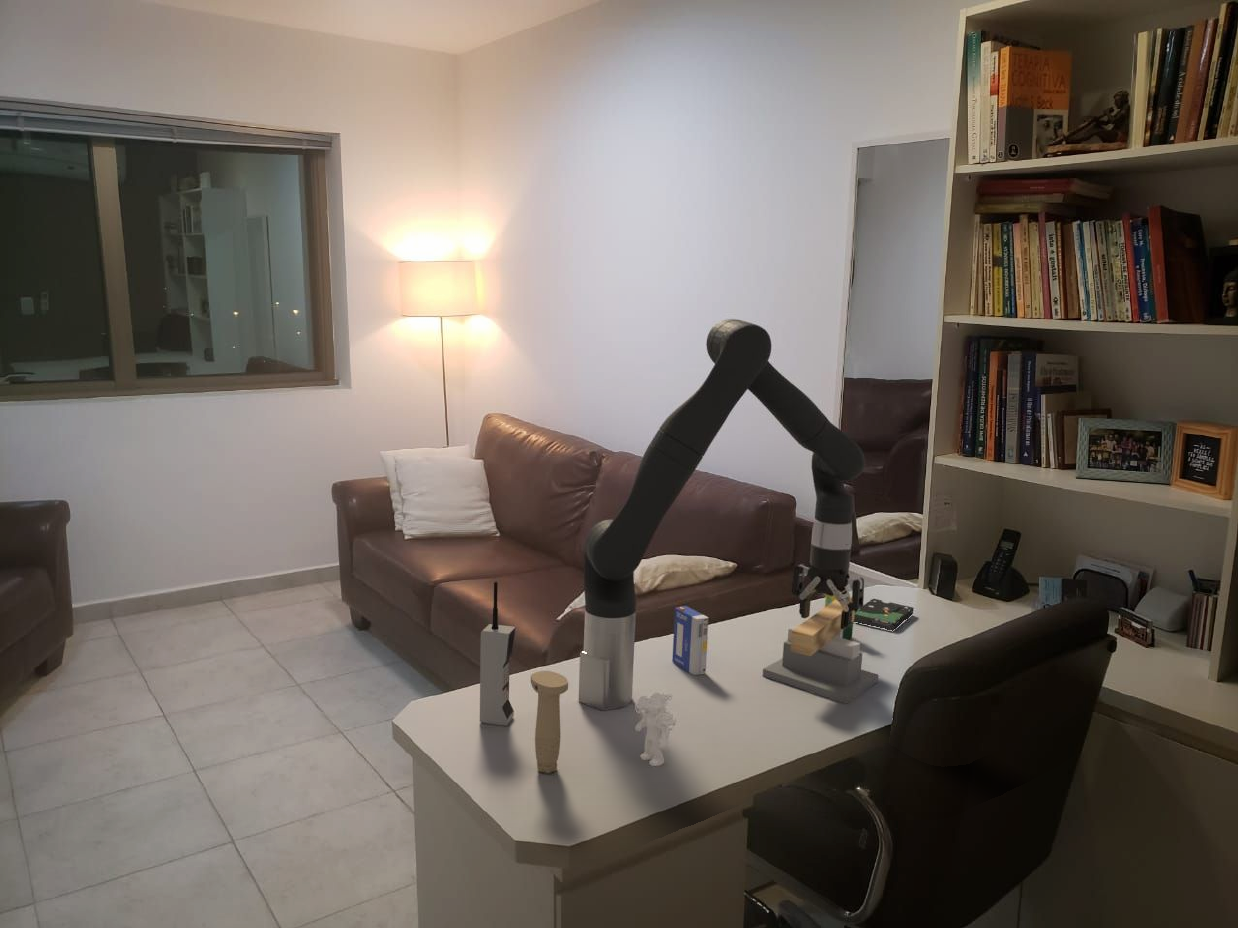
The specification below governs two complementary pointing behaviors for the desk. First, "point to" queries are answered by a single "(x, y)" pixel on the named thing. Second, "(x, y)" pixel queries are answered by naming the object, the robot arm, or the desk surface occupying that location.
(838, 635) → the crayon box
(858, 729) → the desk surface
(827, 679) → the balance stand
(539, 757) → the handle
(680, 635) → the walkman
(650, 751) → the white figurine
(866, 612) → the disk drive
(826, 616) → the oak bar
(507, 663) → the vintage mobile phone
